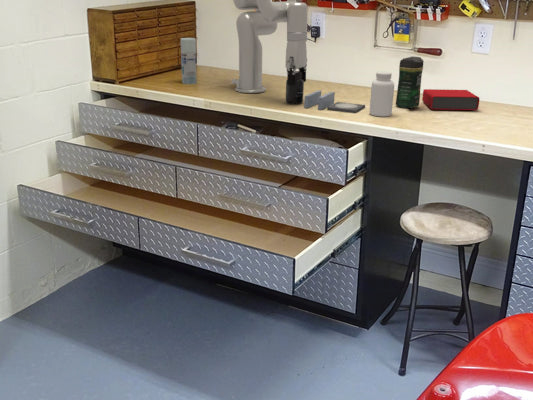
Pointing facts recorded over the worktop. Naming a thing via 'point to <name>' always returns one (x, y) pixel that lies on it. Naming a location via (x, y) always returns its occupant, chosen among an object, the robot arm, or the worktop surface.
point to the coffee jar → (409, 82)
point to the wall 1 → (312, 99)
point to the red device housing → (450, 99)
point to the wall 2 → (326, 100)
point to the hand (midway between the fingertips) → (296, 83)
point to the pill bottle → (382, 95)
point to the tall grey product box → (188, 60)
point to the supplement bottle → (295, 90)
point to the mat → (346, 107)
